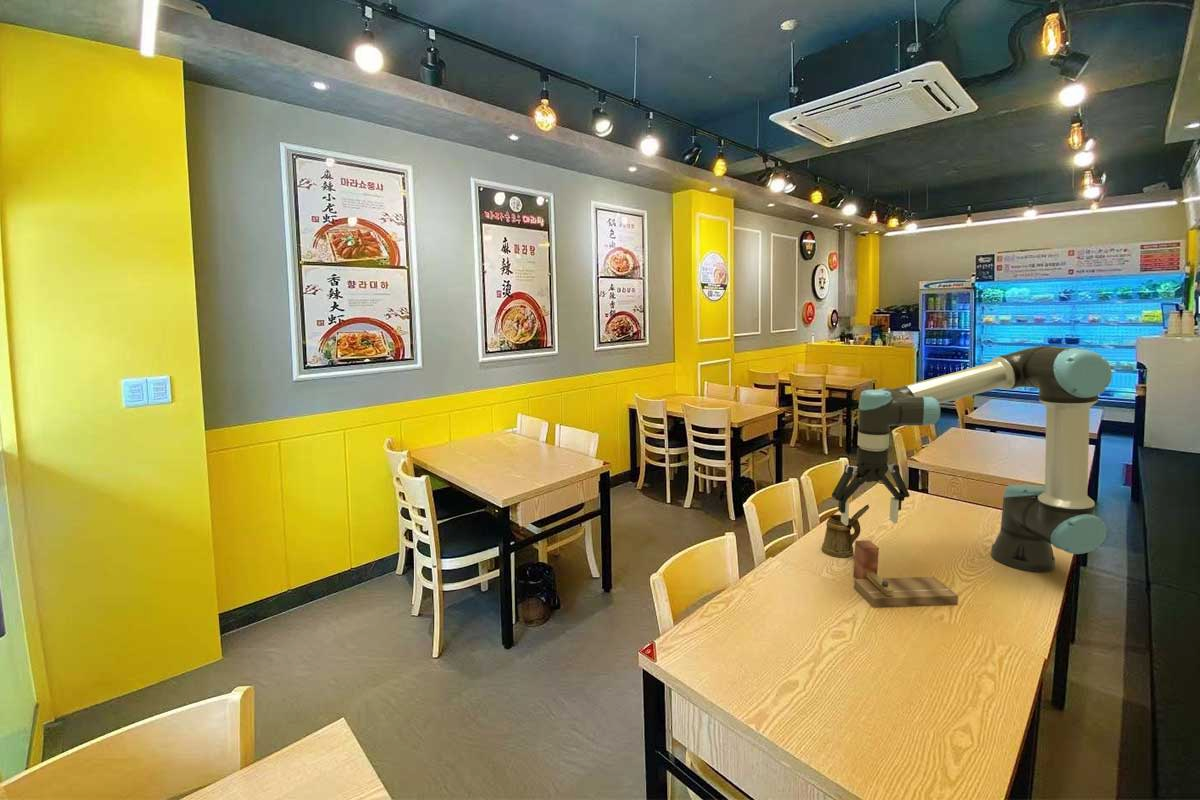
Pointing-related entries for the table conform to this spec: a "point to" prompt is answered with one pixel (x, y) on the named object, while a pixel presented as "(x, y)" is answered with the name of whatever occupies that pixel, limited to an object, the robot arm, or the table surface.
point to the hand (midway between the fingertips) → (868, 522)
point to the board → (907, 592)
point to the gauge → (869, 565)
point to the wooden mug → (841, 534)
